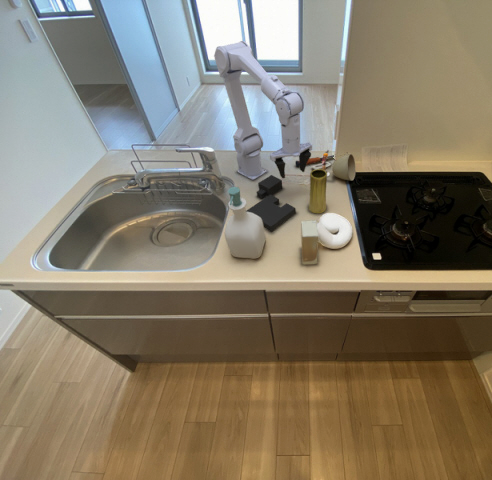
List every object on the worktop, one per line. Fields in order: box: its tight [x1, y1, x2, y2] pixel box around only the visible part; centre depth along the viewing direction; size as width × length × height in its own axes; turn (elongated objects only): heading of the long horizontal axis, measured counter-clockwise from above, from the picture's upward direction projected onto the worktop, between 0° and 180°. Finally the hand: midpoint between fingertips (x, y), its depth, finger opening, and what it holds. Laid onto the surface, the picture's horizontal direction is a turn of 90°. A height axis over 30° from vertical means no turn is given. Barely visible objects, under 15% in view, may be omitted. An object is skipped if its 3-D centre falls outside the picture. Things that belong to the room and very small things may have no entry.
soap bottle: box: [224, 186, 267, 260], centre depth 77 cm, size 10×10×23 cm
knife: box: [294, 154, 335, 168], centre depth 120 cm, size 26×3×5 cm
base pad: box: [246, 194, 297, 233], centre depth 96 cm, size 12×12×2 cm
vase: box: [308, 169, 328, 214], centre depth 94 cm, size 6×6×14 cm
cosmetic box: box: [300, 219, 319, 265], centre depth 79 cm, size 6×4×12 cm
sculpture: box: [317, 212, 354, 250], centre depth 87 cm, size 12×15×8 cm
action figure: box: [321, 149, 331, 177], centre depth 111 cm, size 12×3×9 cm, turn 169°
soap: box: [310, 161, 333, 170], centre depth 117 cm, size 10×4×1 cm, turn 129°
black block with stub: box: [256, 174, 283, 200], centre depth 104 cm, size 6×10×4 cm, turn 140°
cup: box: [331, 153, 356, 182], centre depth 109 cm, size 10×10×7 cm
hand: (292, 173), depth 97 cm, fingers open, 7 cm apart
